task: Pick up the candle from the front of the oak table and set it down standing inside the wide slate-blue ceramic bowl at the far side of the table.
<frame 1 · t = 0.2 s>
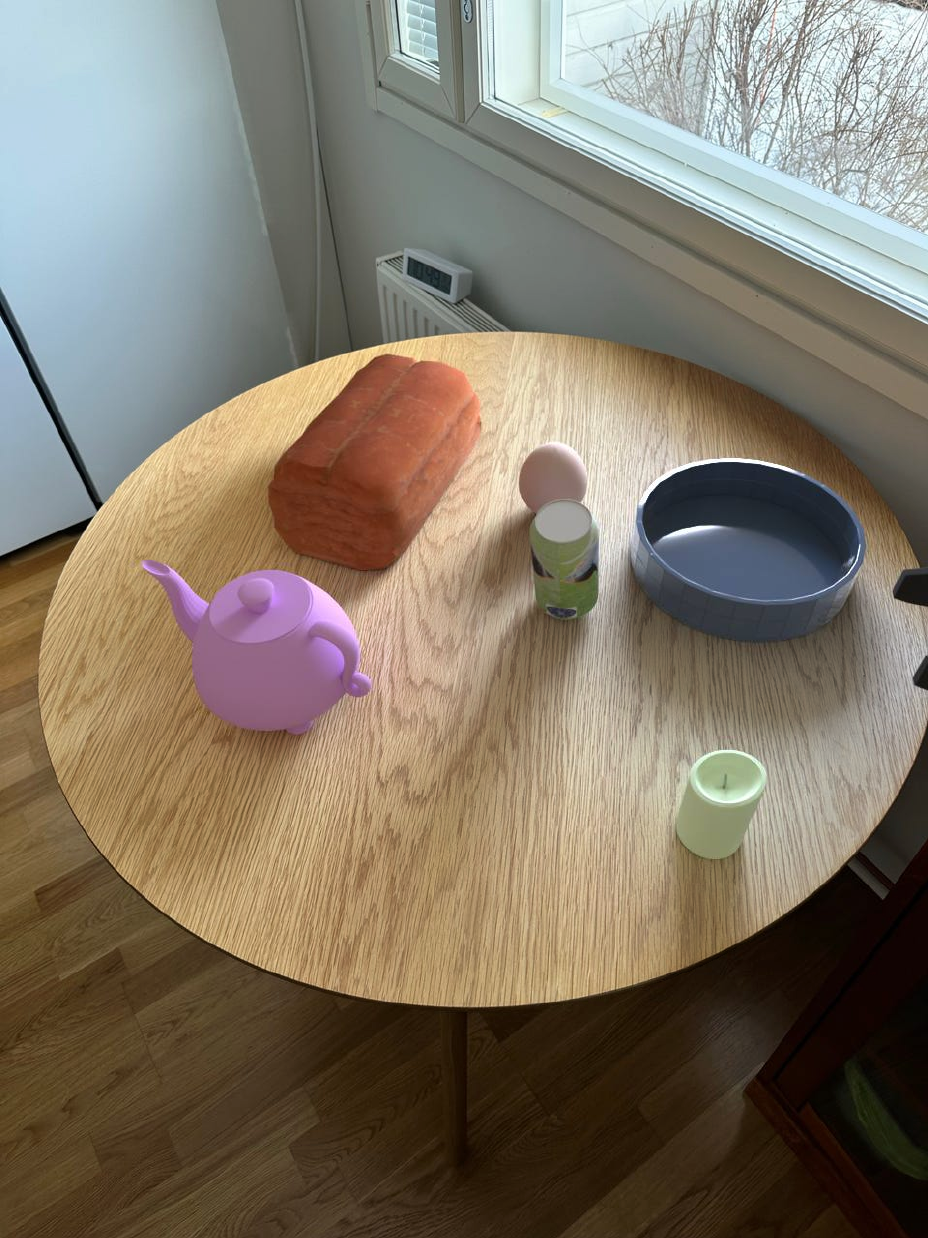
hand: (908, 625, 51), 19 cm above the table, tool horizontal, fingers open, 7 cm apart
teapot: (278, 685, 74), on the table
beverage can: (562, 607, 79), on the table
egg: (551, 512, 89), on the table
candle: (708, 831, 63), on the table
bowl: (737, 562, 82), on the table
bread: (385, 488, 93), on the table
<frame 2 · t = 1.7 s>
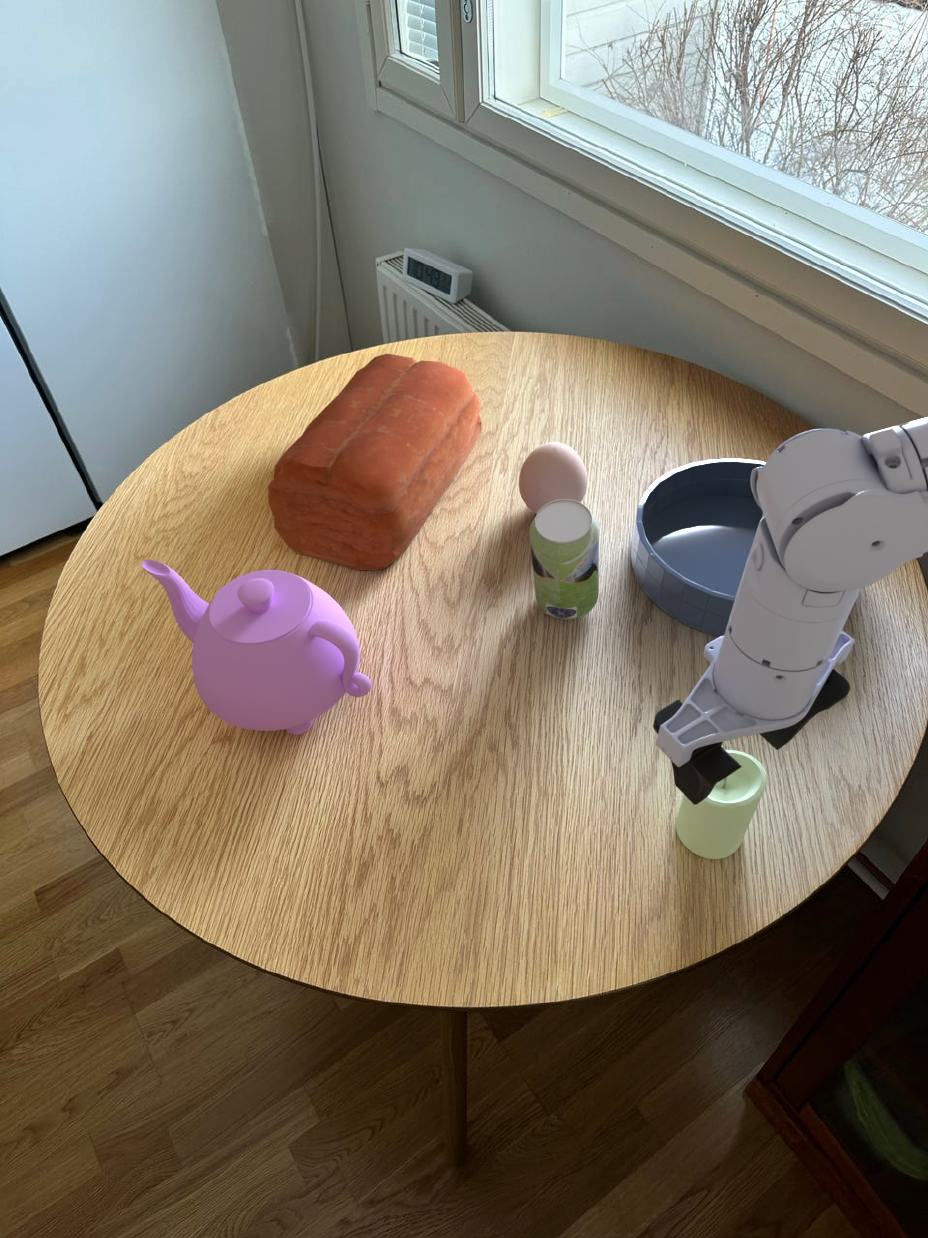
hand: (729, 764, 56), 9 cm above the table, tool pointing down, fingers open, 7 cm apart
nothing on the table moved.
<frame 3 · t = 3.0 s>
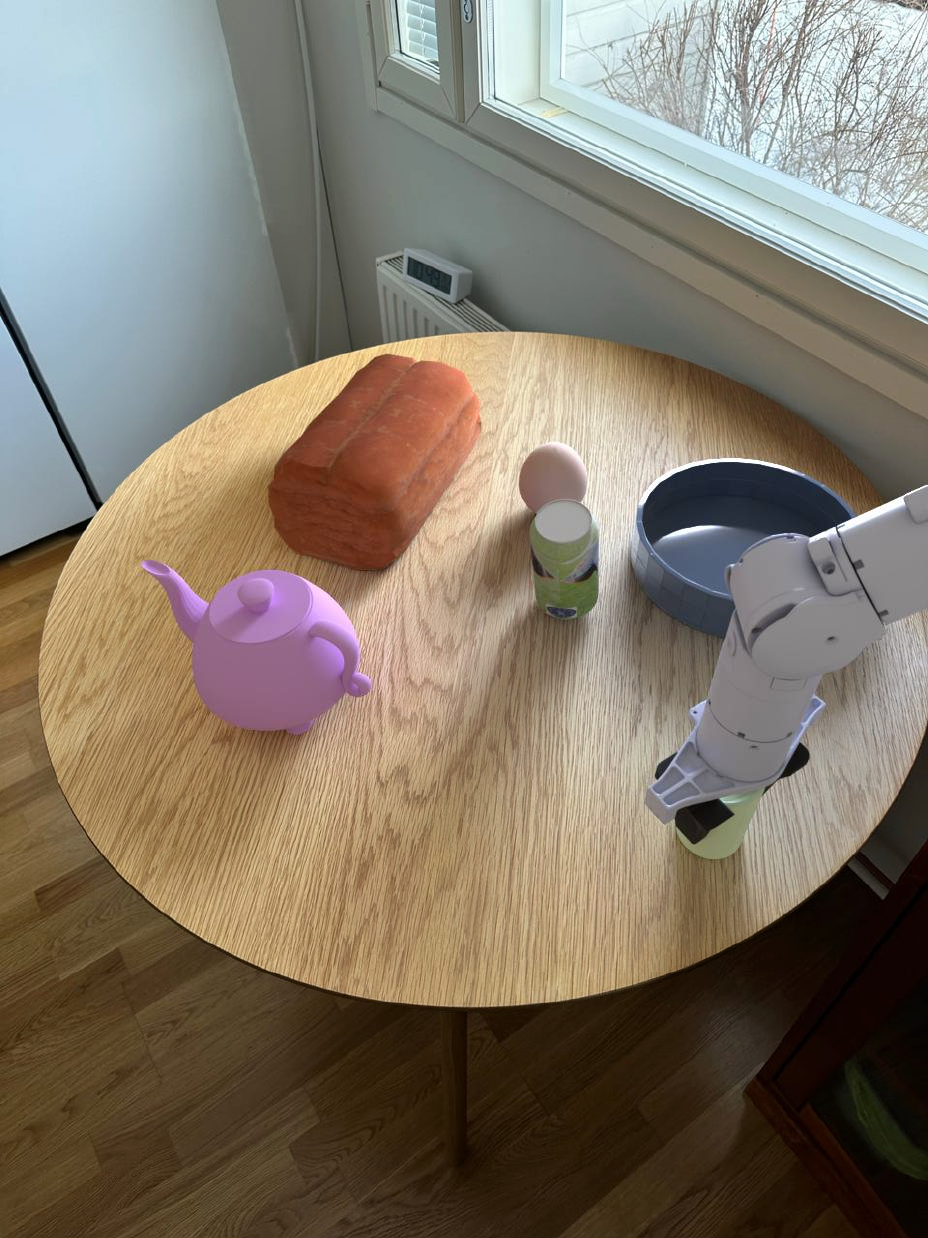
hand: (714, 814, 61), 2 cm above the table, tool pointing down, fingers closed on candle, 5 cm apart
candle: (708, 831, 63), on the table, touching gripper
everything else where it was.
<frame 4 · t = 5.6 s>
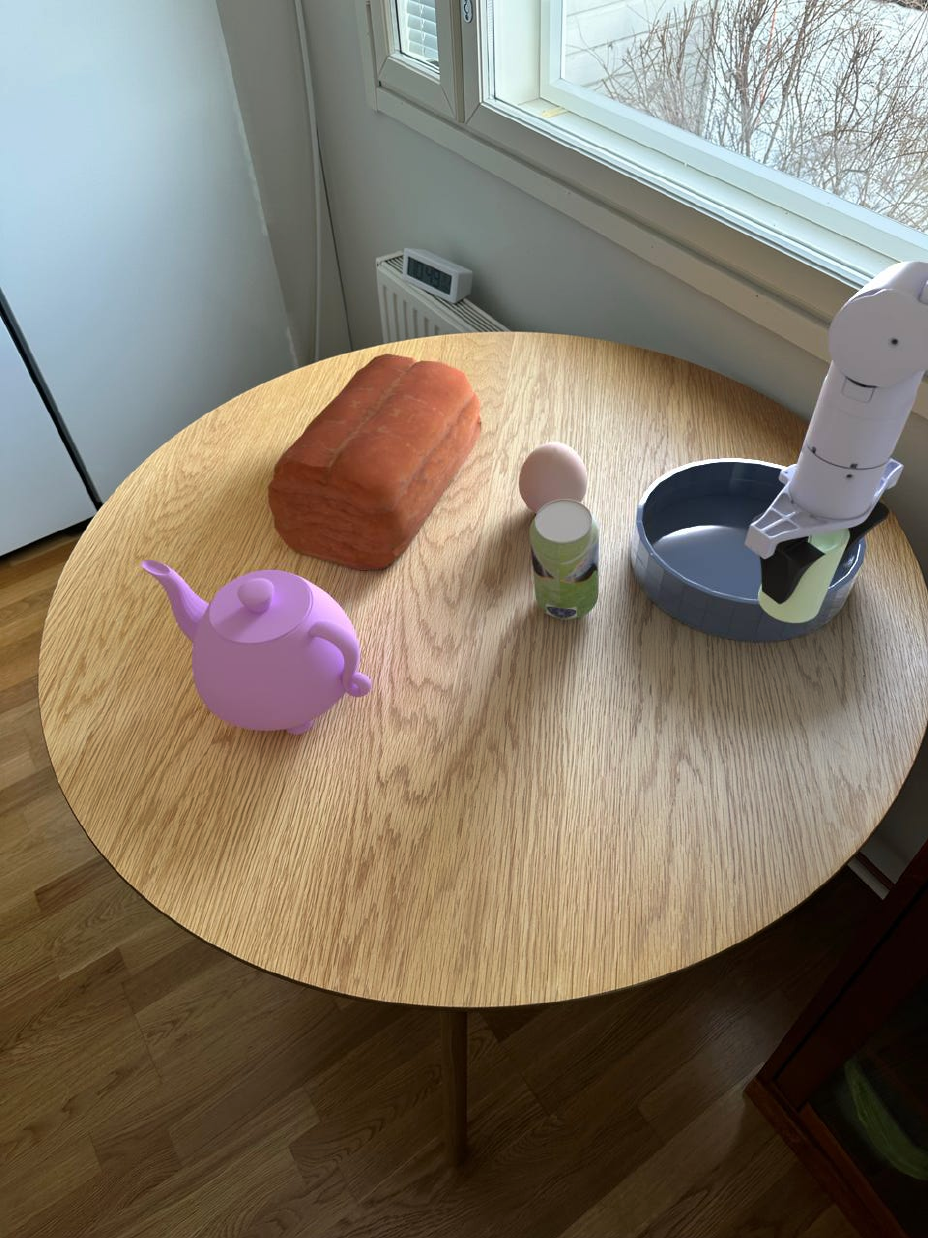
hand: (796, 582, 67), 9 cm above the table, tool pointing down, fingers closed on candle, 5 cm apart
candle: (787, 603, 69), point 7 cm above the table, touching gripper
everything else where it was.
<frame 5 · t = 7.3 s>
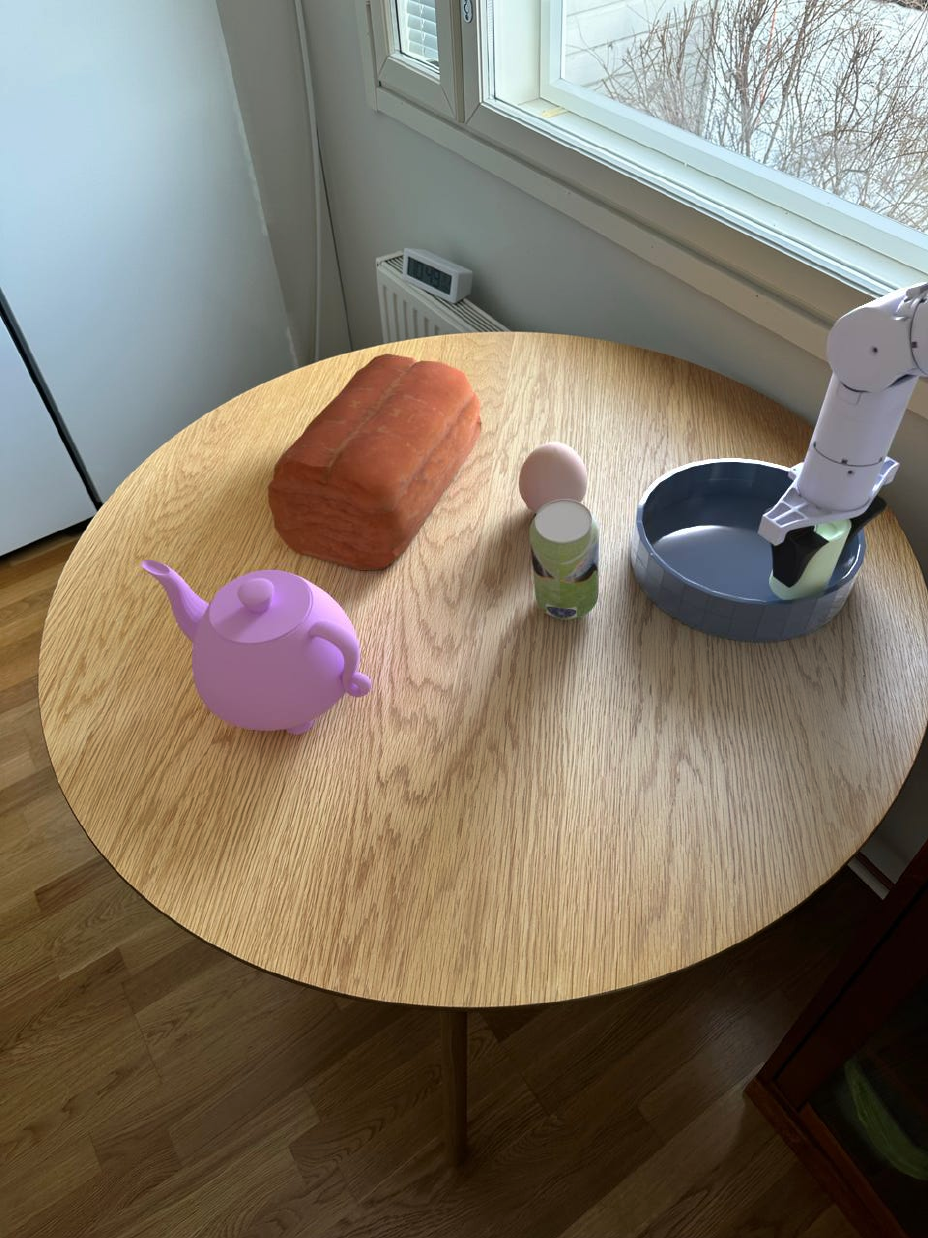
hand: (803, 568, 75), 5 cm above the table, tool pointing down, fingers closed on candle, 5 cm apart
candle: (795, 587, 77), point 2 cm above the table, touching gripper
everything else where it was.
when the fingers open (3 cm above the table, at t = 8.3 s): candle stays where it is, resting on bowl.
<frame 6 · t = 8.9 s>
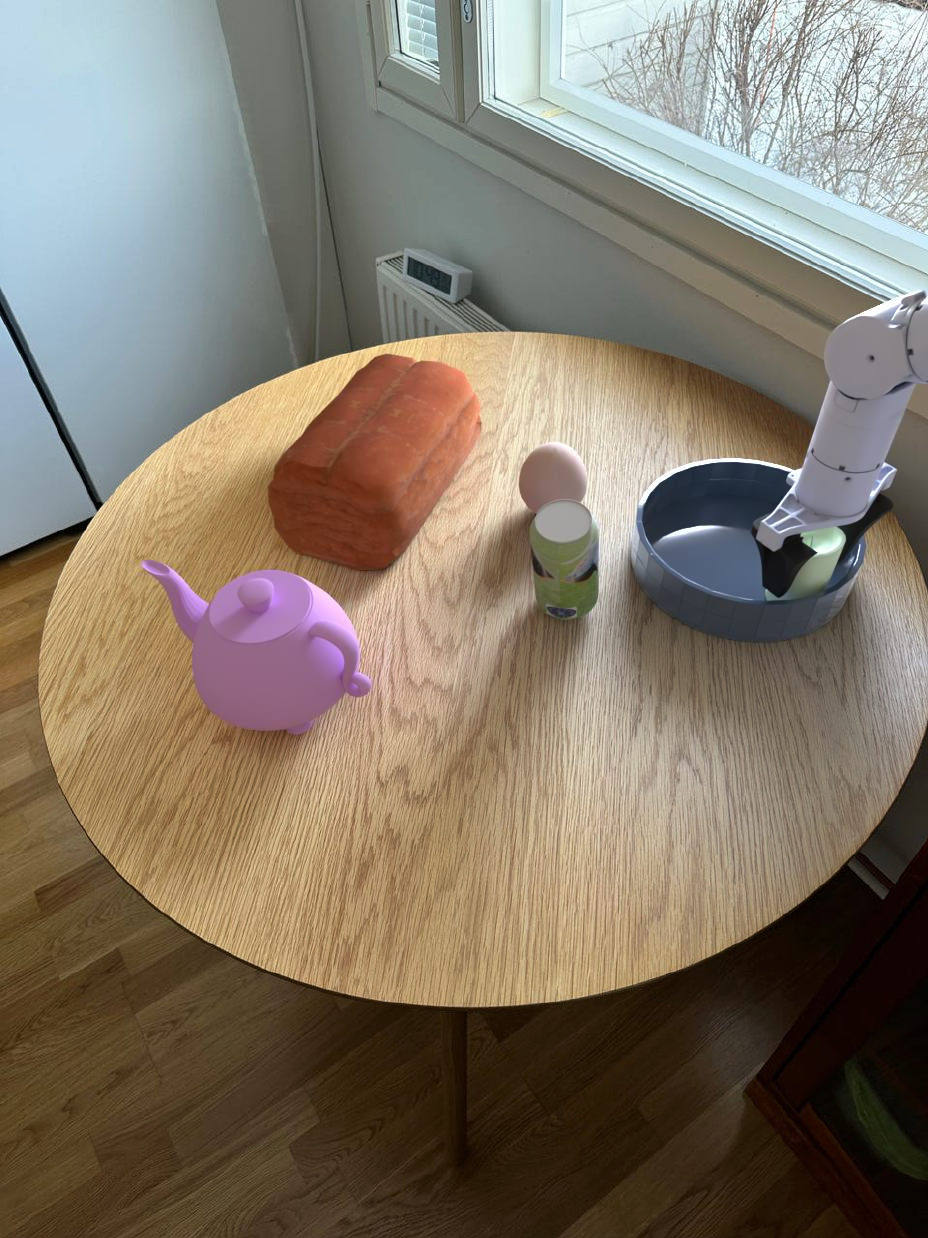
hand: (802, 573, 76), 4 cm above the table, tool pointing down, fingers open, 7 cm apart
candle: (791, 599, 78), resting on bowl
everything else where it was.
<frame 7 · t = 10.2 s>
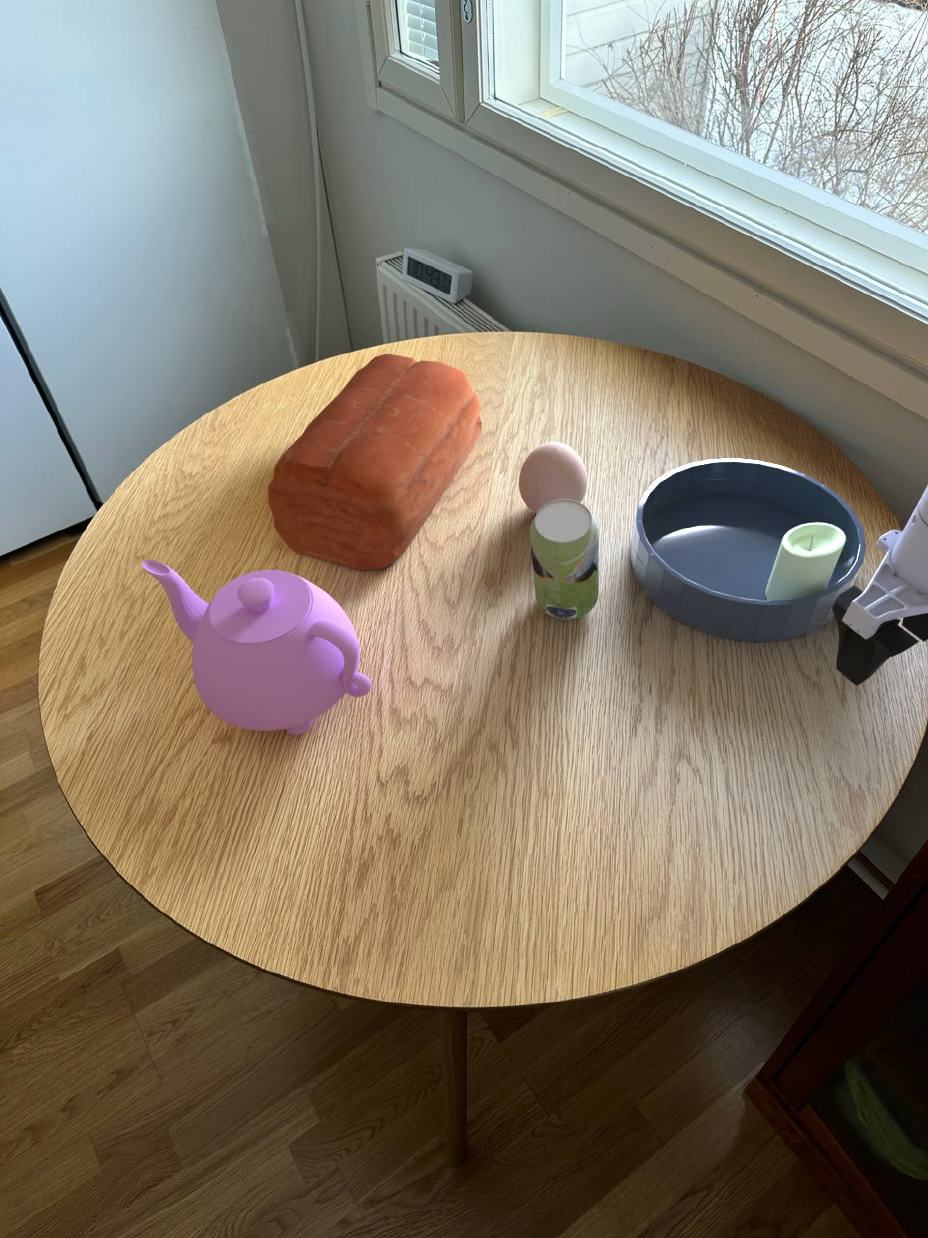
hand: (882, 653, 62), 9 cm above the table, tool pointing down, fingers open, 7 cm apart
nothing on the table moved.
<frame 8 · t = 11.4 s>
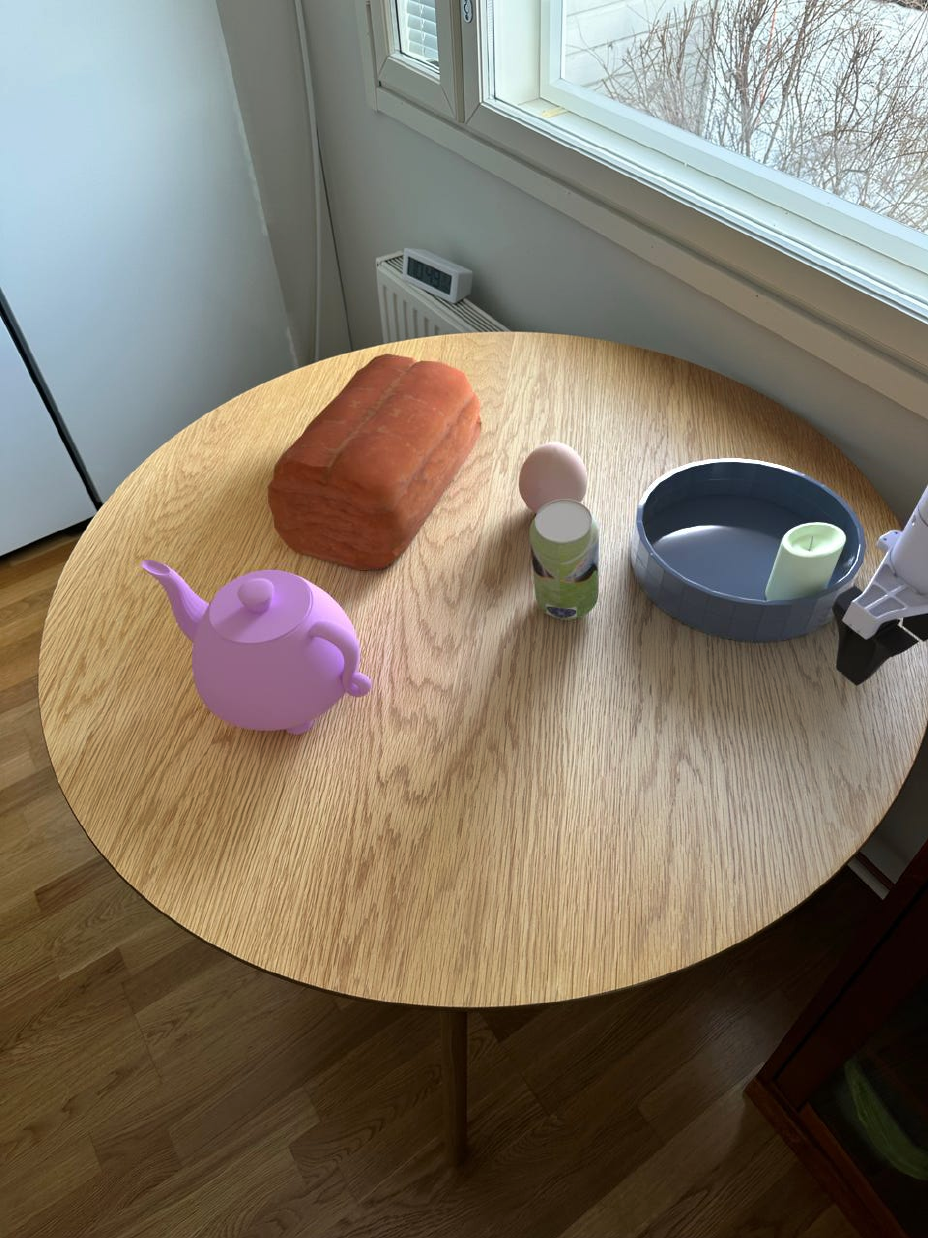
hand: (882, 653, 62), 9 cm above the table, tool pointing down, fingers open, 7 cm apart
nothing on the table moved.
at the end: candle inside the target area in the bowl (6.8 cm from its centre), point 0.4 cm above the bowl's base; candle tilted 0°; the gripper is holding nothing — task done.
